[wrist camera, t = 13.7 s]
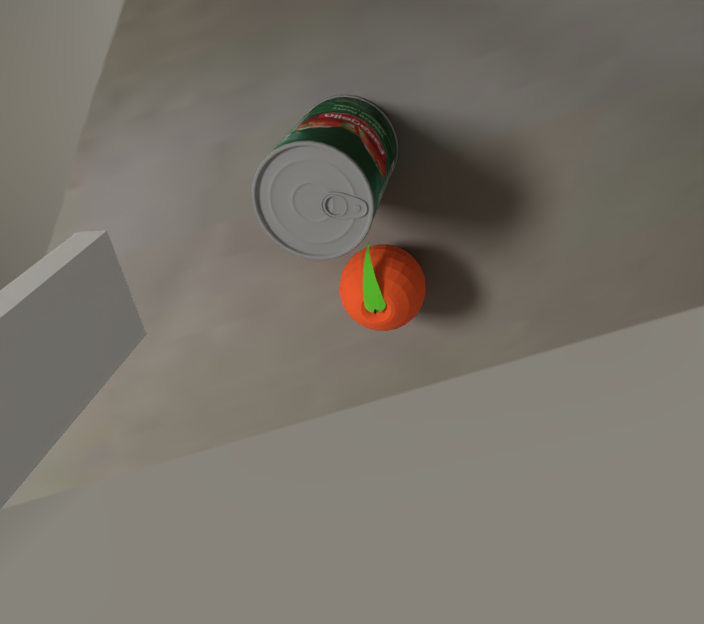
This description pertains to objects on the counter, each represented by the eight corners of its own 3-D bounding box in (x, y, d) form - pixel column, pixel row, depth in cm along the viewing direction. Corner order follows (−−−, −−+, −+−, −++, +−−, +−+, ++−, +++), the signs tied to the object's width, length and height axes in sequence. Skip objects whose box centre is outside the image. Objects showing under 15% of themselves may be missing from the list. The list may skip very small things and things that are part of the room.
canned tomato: (299, 190, 50) (254, 252, 41) (296, 90, 46) (245, 135, 37) (395, 200, 49) (370, 267, 40) (402, 98, 45) (376, 148, 36)
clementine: (337, 224, 51) (315, 265, 45) (419, 212, 49) (408, 253, 43) (359, 305, 55) (342, 352, 49) (436, 297, 53) (428, 345, 47)
